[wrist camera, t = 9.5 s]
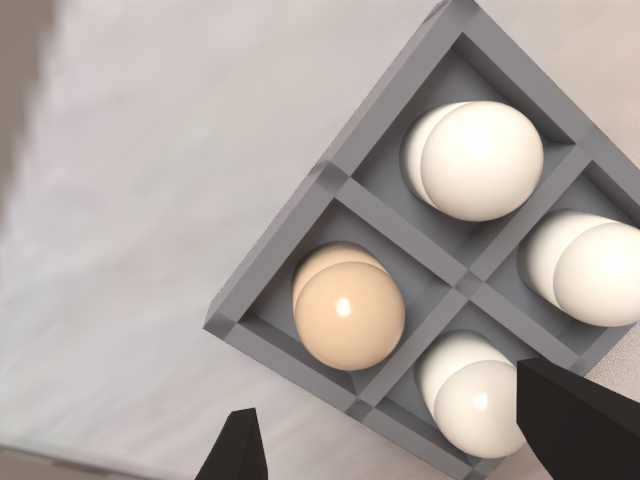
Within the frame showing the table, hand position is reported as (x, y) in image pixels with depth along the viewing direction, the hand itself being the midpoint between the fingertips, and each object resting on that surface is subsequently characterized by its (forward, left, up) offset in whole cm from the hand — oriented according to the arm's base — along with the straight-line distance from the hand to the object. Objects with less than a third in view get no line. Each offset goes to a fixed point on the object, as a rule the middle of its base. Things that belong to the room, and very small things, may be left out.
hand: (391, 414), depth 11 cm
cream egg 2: (-8, 0, -9) cm, 12 cm away
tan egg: (0, 0, -9) cm, 9 cm away
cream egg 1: (0, -8, -9) cm, 12 cm away
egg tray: (-4, -4, -9) cm, 11 cm away
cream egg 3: (-8, -8, -9) cm, 14 cm away
